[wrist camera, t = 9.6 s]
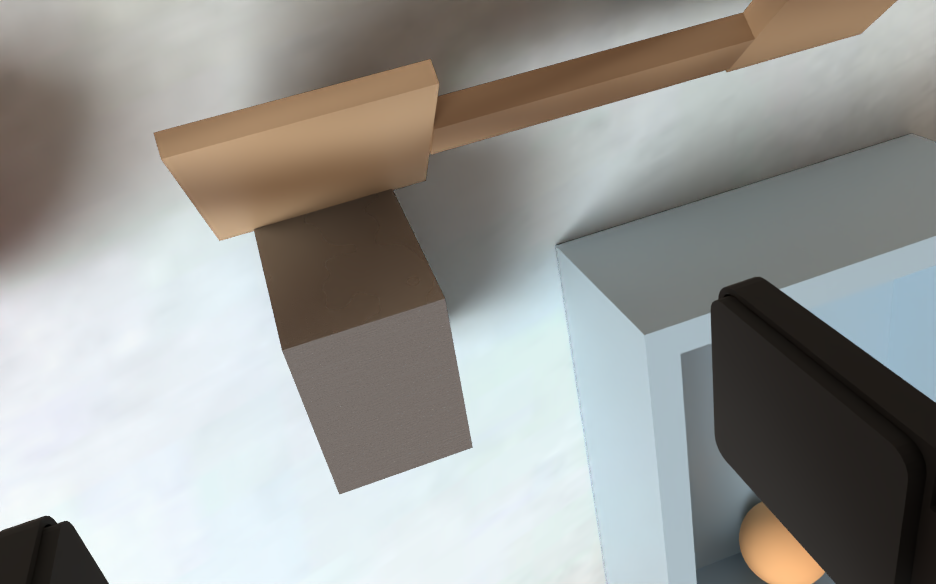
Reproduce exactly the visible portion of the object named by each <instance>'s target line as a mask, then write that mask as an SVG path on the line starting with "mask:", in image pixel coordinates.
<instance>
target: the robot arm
mask: <svg viewBox="0 0 936 584" xmlns="http://www.w3.org/2000/svg"><path fill="white" fill-rule="evenodd" d="M710 312H711V342H712V373H713V404H714V434H715V441H716V444H717V447H718V449H719V452H720V453H721V455H722V457H723V458H724V459H725V461H726V462H727V463H728V464H729V465H730V466H731V467H732V469H733V470H734V471H735V472H736V473H737V474H738V475H739V476H740V477H741V479H742V480H743V481H744V482H745V483H746V484H747V485H748V486H749V488H750V489H751V490H752V491H753V492H754V493H755V494H756V495H757V496H758V498H759V499H760V500H761V501H762V502H763V503H764V504H765V505H766V507H767V508H768V509H769V510H770V511H771V512H772V513H773V514H774V515H775V517H776V518H777V519H778V520H779V521H780V522H781V523H782V524H783V526H784V527H785V528H786V529H787V530H788V531H789V532H790V533H791V534H792V536H793V537H794V538H795V539H796V540H797V541H798V542H799V543H800V544H801V546H802V547H803V548H804V549H805V550H806V551H807V552H808V553H809V555H810V556H811V557H812V558H813V559H814V560H815V561H816V562H817V563H818V565H819V566H820V567H821V568H822V569H823V570H824V571H825V572H826V574H827V575H828V576H829V577H830V578H831V579H832V580H833V581H834V582H835V584H936V402H934V401H933V400H931V399H930V398H929V397H927V396H926V395H925V394H923V393H922V392H920V391H919V390H918V389H916V388H915V387H913V386H912V385H911V384H909V383H908V382H907V381H905V380H904V379H902V378H901V377H900V376H898V375H897V374H896V373H894V372H893V371H891V370H890V369H889V368H887V367H886V366H884V365H883V364H882V363H880V362H879V361H878V360H876V359H875V358H873V357H872V356H871V355H869V354H868V353H867V352H865V351H864V350H862V349H861V348H860V347H858V346H857V345H855V344H854V343H853V342H851V341H850V340H849V339H847V338H846V337H844V336H843V335H842V334H840V333H839V332H838V331H836V330H835V329H833V328H832V327H831V326H829V325H828V324H826V323H825V322H824V321H822V320H821V319H820V318H818V317H817V316H815V315H814V314H813V313H811V312H810V311H809V310H807V309H806V308H804V307H803V306H802V305H800V304H799V303H798V302H796V301H795V300H793V299H792V298H791V297H789V296H788V295H786V294H785V293H784V292H782V291H781V290H780V289H778V288H777V287H775V286H774V285H773V284H771V283H770V282H769V281H767V280H766V279H764V278H762V277H753V278H750V279H747V280H744V281H741V282H738V283H735V284H732V285H729V286H726V287H724V288H722V289H721V290H720V292H719V296H718V300H715V301H714V302H712V304H711V310H710ZM0 584H109V583H108V582H107V580H106V578H105V577H104V575H103V573H102V572H101V570H100V569H99V567H98V565H97V564H96V562H95V560H94V559H93V557H92V556H91V554H90V552H89V551H88V549H87V548H86V546H85V544H84V543H83V541H82V539H81V538H80V536H79V535H78V533H77V531H76V530H75V528H74V527H73V525H72V524H71V523H70V522H68V521H63V522H60V523H56V521H55V520H54V519H53V518H51V517H50V516H43V517H40V518H37V519H34V520H31V521H28V522H25V523H23V524H20V525H17V526H14V527H11V528H8V529H5V530H2V531H1V532H0Z"/></svg>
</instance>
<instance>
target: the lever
mask: <svg viewBox="0 0 936 584" xmlns="http://www.w3.org/2000/svg"><path fill="white" fill-rule="evenodd" d="M896 1H897V0H752V2H751V3H750V4H749V6H748V7H747V8H746V9H745V11H744V12H743V13H739V14H736V15H732V16H728V17H725V18H721V19H717V20H714V21H710V22H707V23H703V24H699V25H696V26H692V27H688V28H685V29H681V30H677V31H674V32H670V33H667V34H663V35H659V36H656V37H652V38H648V39H645V40H641V41H637V42H634V43H630V44H627V45H623V46H619V47H616V48H612V49H608V50H605V51H601V52H597V53H594V54H590V55H587V56H583V57H579V58H576V59H572V60H568V61H565V62H561V63H557V64H554V65H550V66H547V67H543V68H539V69H536V70H532V71H528V72H525V73H521V74H517V75H514V76H510V77H507V78H503V79H499V80H496V81H492V82H488V83H485V84H481V85H477V86H474V87H470V88H467V89H463V90H459V91H456V92H452V93H448V94H445V95H441V96H438V89H439V81H438V78H437V76H436V73H435V70H434V67H433V65H432V62H431V59H429V60H425V61H421V62H417V63H414V64H410V65H406V66H402V67H399V68H395V69H391V70H387V71H384V72H380V73H376V74H372V75H369V76H365V77H361V78H357V79H354V80H350V81H346V82H342V83H339V84H335V85H331V86H327V87H324V88H320V89H316V90H312V91H309V92H305V93H301V94H297V95H294V96H290V97H286V98H282V99H279V100H275V101H271V102H267V103H264V104H260V105H256V106H252V107H249V108H245V109H241V110H237V111H233V112H230V113H226V114H222V115H218V116H215V117H211V118H207V119H203V120H200V121H196V122H192V123H188V124H185V125H181V126H177V127H173V128H170V129H166V130H162V131H158V132H155V133H154V136H155V140H156V143H157V147H158V150H159V153H160V157H161V160H162V161H163V162H164V164H165V165H166V167H167V168H168V169H169V171H170V172H171V174H172V175H173V176H174V178H175V179H176V181H177V182H178V183H179V185H180V186H181V188H182V189H183V190H184V192H185V193H186V195H187V196H188V197H189V199H190V200H191V202H192V203H193V204H194V206H195V207H196V209H197V210H198V211H199V213H200V214H201V216H202V217H203V218H204V220H205V221H206V223H207V224H208V225H209V227H210V228H211V230H212V231H213V232H214V234H215V235H216V237H217V238H218V239H219V241H221V240H224V239H228V238H231V237H235V236H238V235H241V234H245V233H248V232H252V231H254V229H256V228H259V227H263V226H266V225H269V224H273V223H276V222H280V221H283V220H286V219H290V218H293V217H297V216H300V215H304V214H307V213H310V212H314V211H317V210H321V209H324V208H328V207H331V206H334V205H338V204H341V203H345V202H348V201H352V200H355V199H358V198H362V197H365V196H369V195H372V194H376V193H379V192H382V191H386V190H389V189H392V190H395V189H399V188H402V187H406V186H409V185H413V184H416V183H419V182H423V181H426V175H427V168H428V161H429V154H430V153H431V155H432V154H435V153H439V152H442V151H446V150H449V149H452V148H456V147H459V146H463V145H466V144H470V143H473V142H477V141H480V140H484V139H487V138H491V137H494V136H498V135H501V134H505V133H508V132H512V131H515V130H519V129H522V128H526V127H529V126H533V125H536V124H540V123H543V122H547V121H550V120H554V119H557V118H560V117H564V116H567V115H571V114H574V113H578V112H581V111H585V110H588V109H592V108H595V107H599V106H602V105H606V104H609V103H613V102H616V101H620V100H623V99H627V98H630V97H634V96H637V95H641V94H644V93H648V92H651V91H655V90H658V89H662V88H665V87H668V86H672V85H675V84H679V83H682V82H686V81H689V80H693V79H696V78H700V77H703V76H707V75H710V74H714V73H717V72H721V71H724V70H726V72H730V71H733V70H737V69H740V68H744V67H747V66H751V65H754V64H758V63H761V62H765V61H768V60H772V59H775V58H778V57H782V56H785V55H789V54H792V53H796V52H799V51H803V50H806V49H810V48H813V47H817V46H820V45H824V44H827V43H831V42H834V41H838V40H841V39H845V38H848V37H851V36H855V35H858V34H861V33H862V32H863V31H865V30H866V29H867V28H868V27H869V26H870V25H871V24H872V23H873V22H874V21H875V20H877V19H878V18H879V17H880V16H881V15H882V14H883V13H884V12H885V11H886V10H887V9H888V8H890V7H891V6H892V5H893V4H894V3H895V2H896Z"/></svg>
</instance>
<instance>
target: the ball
mask: <svg viewBox="0 0 936 584" xmlns="http://www.w3.org/2000/svg"><path fill="white" fill-rule="evenodd" d="M739 545H740V550H741V553H742V556H743V558H744V560H745V562H746V563H747V565H748V566H749V568H750V569H751V570H752V571H753V572H754V573H755V574H756V575H757V576H758V577H759V578H761V579H762V580H763V581H765V582H767V583H769V584H812V583H814V582H815V581H817V580H818V579H819V578H820V577H821V576H822V575H823V574H824V573H825V571H824V570H823V569H822V568H821V567H820V566H819V565H818V563H817V562H816V561H815V560H814V559H813V558H812V557H811V556H810V555H809V553H808V552H807V551H806V550H805V549H804V548H803V547H802V546H801V544H800V543H799V542H798V541H797V540H796V539H795V538H794V537H793V536H792V534H791V533H790V532H789V531H788V530H787V529H786V528H785V527H784V526H783V524H782V523H781V522H780V521H779V520H778V519H777V518H776V517H775V515H774V514H773V513H772V512H771V511H770V510H769V509H768V508H767V507H766V505H765V504H764V503H763V502H760V503H758V504H757V505H755V506H754V507H753V508H752V509H750V510H749V512H748V513H747V514H746V516H745V517H744V519H743V521H742V524H741V527H740V532H739Z"/></svg>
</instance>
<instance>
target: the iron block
mask: <svg viewBox="0 0 936 584" xmlns="http://www.w3.org/2000/svg"><path fill="white" fill-rule="evenodd" d="M254 232H255V237H256V241H257V245H258V249H259V254H260V258H261V262H262V267H263V271H264V275H265V279H266V284H267V288H268V292H269V296H270V301H271V305H272V309H273V313H274V318H275V322H276V326H277V331H278V335H279V339H280V343H281V348H282V351H283V354H284V356H285V359H286V361H287V364H288V366H289V369H290V371H291V374H292V376H293V379H294V381H295V384H296V386H297V389H298V391H299V394H300V397H301V399H302V402H303V404H304V407H305V409H306V412H307V414H308V417H309V419H310V422H311V424H312V427H313V429H314V432H315V434H316V437H317V439H318V442H319V444H320V447H321V449H322V452H323V454H324V457H325V459H326V462H327V464H328V467H329V469H330V472H331V474H332V477H333V479H334V482H335V484H336V487H337V489H338V492H339V494H342V493H345V492H348V491H351V490H353V489H356V488H359V487H362V486H365V485H368V484H370V483H373V482H376V481H379V480H382V479H385V478H387V477H390V476H393V475H396V474H399V473H402V472H404V471H407V470H410V469H413V468H416V467H419V466H421V465H424V464H427V463H430V462H433V461H436V460H438V459H441V458H444V457H447V456H450V455H453V454H456V453H458V452H461V451H464V450H467V449H470V448H473V447H472V442H471V436H470V431H469V425H468V420H467V415H466V409H465V404H464V398H463V393H462V387H461V382H460V377H459V371H458V366H457V360H456V355H455V350H454V344H453V339H452V333H451V328H450V322H449V317H448V312H447V306H446V301H445V297H444V295H443V293H442V291H441V289H440V287H439V285H438V283H437V281H436V279H435V277H434V275H433V272H432V270H431V268H430V266H429V264H428V262H427V260H426V258H425V256H424V254H423V252H422V250H421V248H420V246H419V243H418V241H417V239H416V237H415V235H414V233H413V231H412V229H411V227H410V225H409V223H408V221H407V219H406V217H405V214H404V212H403V210H402V208H401V206H400V204H399V202H398V200H397V198H396V196H395V194H394V192H393V190H392V189H389V190H386V191H382V192H379V193H376V194H372V195H369V196H365V197H362V198H358V199H355V200H352V201H348V202H345V203H341V204H338V205H334V206H331V207H328V208H324V209H321V210H317V211H314V212H310V213H307V214H304V215H300V216H297V217H293V218H290V219H286V220H283V221H280V222H276V223H273V224H269V225H266V226H263V227H259V228H256V229H254Z"/></svg>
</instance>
